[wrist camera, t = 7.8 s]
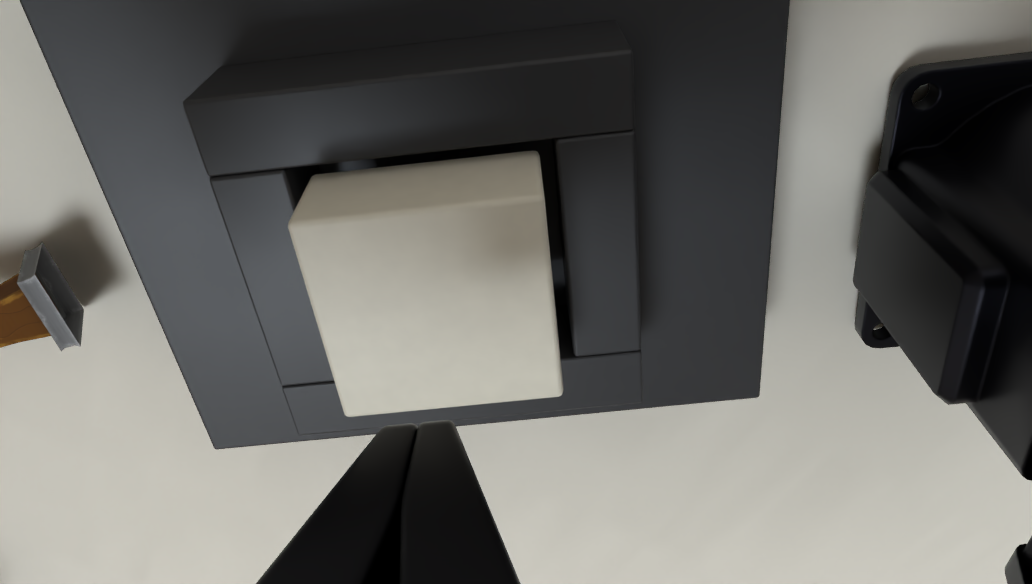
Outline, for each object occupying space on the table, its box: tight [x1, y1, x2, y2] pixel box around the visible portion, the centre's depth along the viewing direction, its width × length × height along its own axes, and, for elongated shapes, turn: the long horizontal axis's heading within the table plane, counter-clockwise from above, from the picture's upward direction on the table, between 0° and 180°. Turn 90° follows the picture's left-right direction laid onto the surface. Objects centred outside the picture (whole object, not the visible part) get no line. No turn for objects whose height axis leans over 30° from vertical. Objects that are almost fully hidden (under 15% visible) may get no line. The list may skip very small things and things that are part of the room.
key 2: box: [288, 150, 564, 417], centre depth 12 cm, size 4×4×2 cm
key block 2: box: [20, 0, 790, 449], centre depth 14 cm, size 12×10×4 cm
